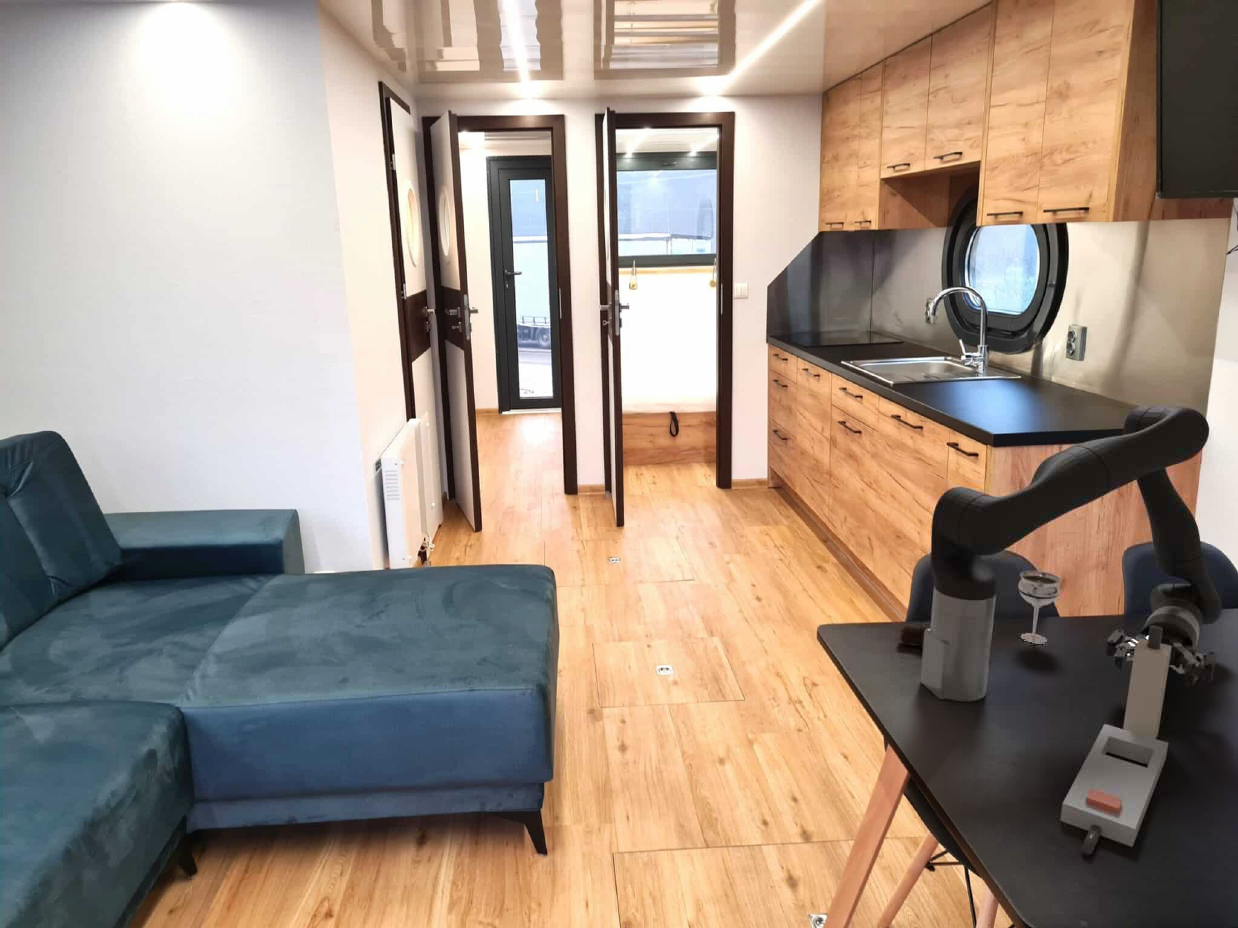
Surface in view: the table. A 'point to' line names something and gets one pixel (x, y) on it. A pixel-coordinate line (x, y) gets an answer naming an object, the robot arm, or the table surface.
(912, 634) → the bolt
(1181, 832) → the table surface
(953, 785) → the table surface
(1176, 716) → the table surface
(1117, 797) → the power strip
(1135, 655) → the plug
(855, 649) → the table surface
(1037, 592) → the wineglass
